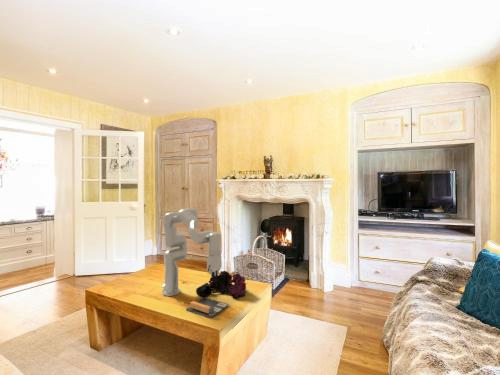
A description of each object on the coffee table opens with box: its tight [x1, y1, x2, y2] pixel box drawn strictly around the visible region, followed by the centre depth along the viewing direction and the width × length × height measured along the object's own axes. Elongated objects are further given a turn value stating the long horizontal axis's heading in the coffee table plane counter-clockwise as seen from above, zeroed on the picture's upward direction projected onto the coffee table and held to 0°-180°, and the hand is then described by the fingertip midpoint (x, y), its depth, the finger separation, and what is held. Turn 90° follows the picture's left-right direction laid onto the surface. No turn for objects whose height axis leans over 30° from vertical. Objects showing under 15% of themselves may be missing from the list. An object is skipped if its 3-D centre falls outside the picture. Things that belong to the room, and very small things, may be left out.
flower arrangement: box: [208, 270, 247, 300], centre depth 193 cm, size 31×20×15 cm, turn 62°
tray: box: [186, 297, 229, 319], centre depth 167 cm, size 20×18×2 cm
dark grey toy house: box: [195, 282, 213, 299], centre depth 187 cm, size 10×7×7 cm
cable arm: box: [189, 300, 214, 314], centre depth 161 cm, size 18×3×3 cm, turn 60°
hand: (214, 281), depth 163 cm, fingers closed
